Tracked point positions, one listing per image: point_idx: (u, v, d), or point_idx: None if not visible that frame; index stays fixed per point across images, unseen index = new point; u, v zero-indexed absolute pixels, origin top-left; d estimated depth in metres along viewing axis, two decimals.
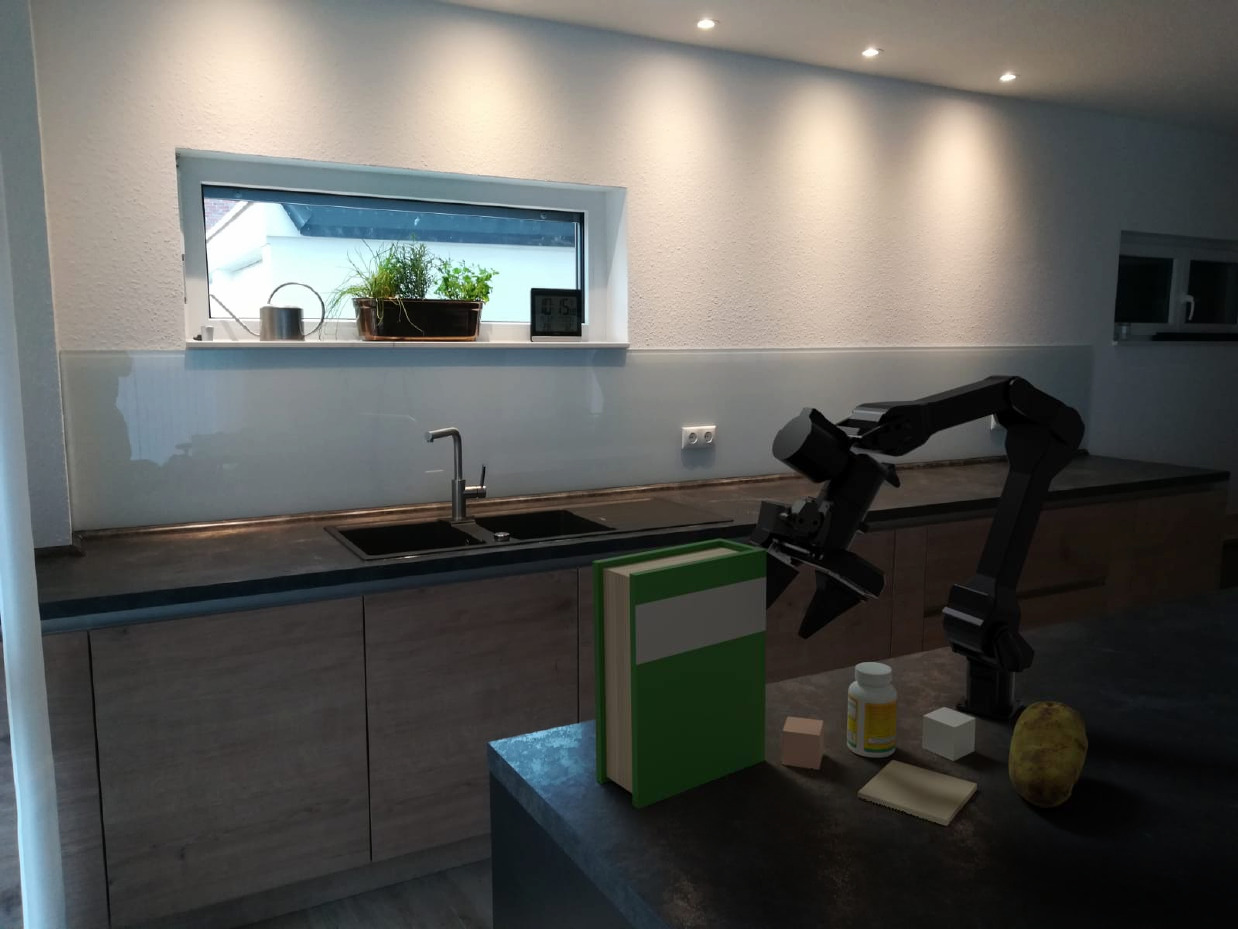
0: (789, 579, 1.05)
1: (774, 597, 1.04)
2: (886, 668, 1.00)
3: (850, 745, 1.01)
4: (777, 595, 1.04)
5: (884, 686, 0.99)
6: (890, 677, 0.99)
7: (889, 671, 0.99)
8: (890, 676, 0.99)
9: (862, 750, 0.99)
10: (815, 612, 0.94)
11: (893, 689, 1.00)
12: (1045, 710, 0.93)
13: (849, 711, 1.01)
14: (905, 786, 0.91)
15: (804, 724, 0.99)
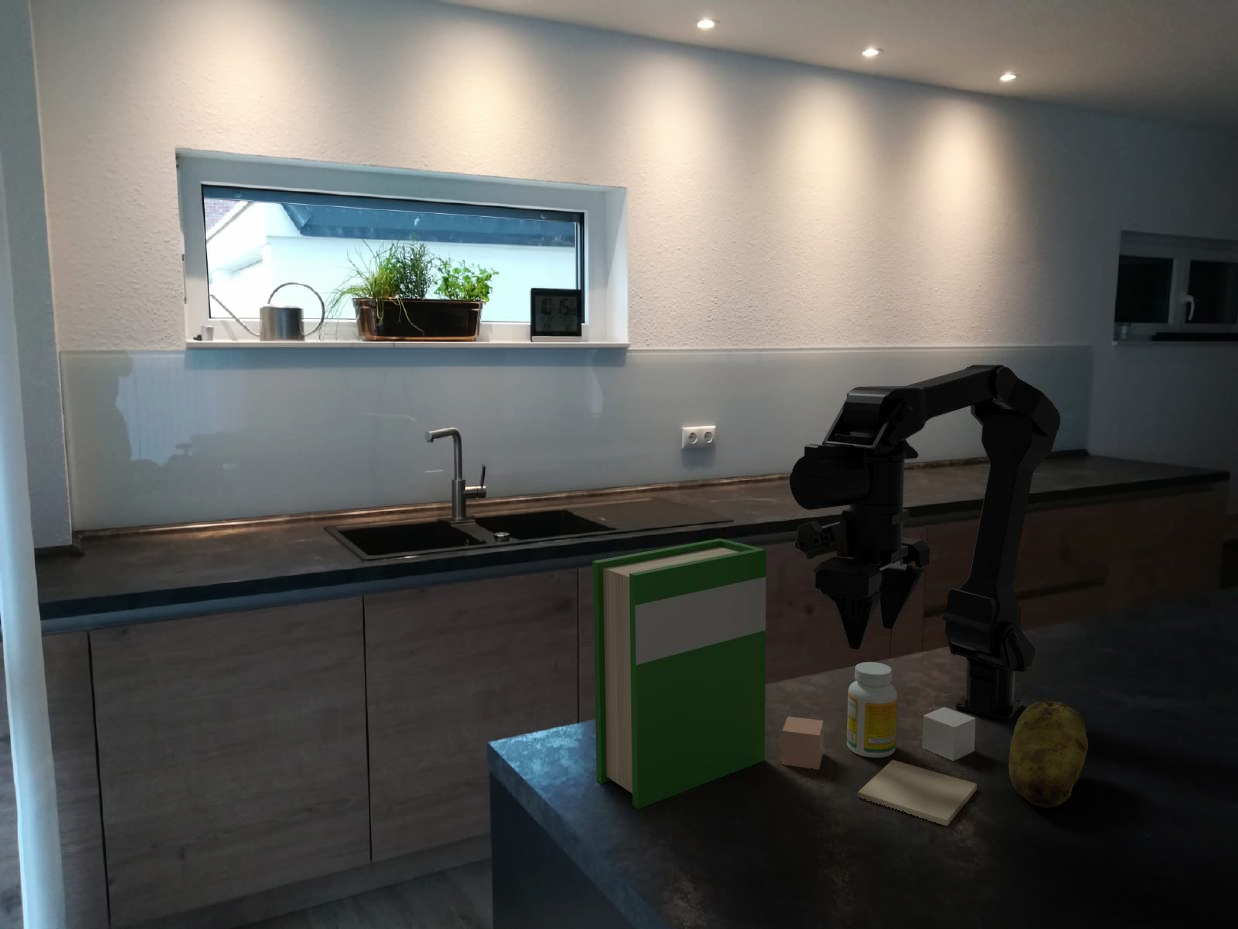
0: (908, 583, 1.02)
1: (897, 606, 1.02)
2: (886, 668, 1.00)
3: (850, 745, 1.01)
4: (900, 603, 1.02)
5: (884, 686, 0.99)
6: (890, 677, 0.99)
7: (889, 671, 0.99)
8: (890, 676, 0.99)
9: (862, 750, 0.99)
10: (845, 623, 0.96)
11: (893, 689, 1.00)
12: (1045, 710, 0.93)
13: (849, 711, 1.01)
14: (905, 786, 0.91)
15: (804, 724, 0.99)
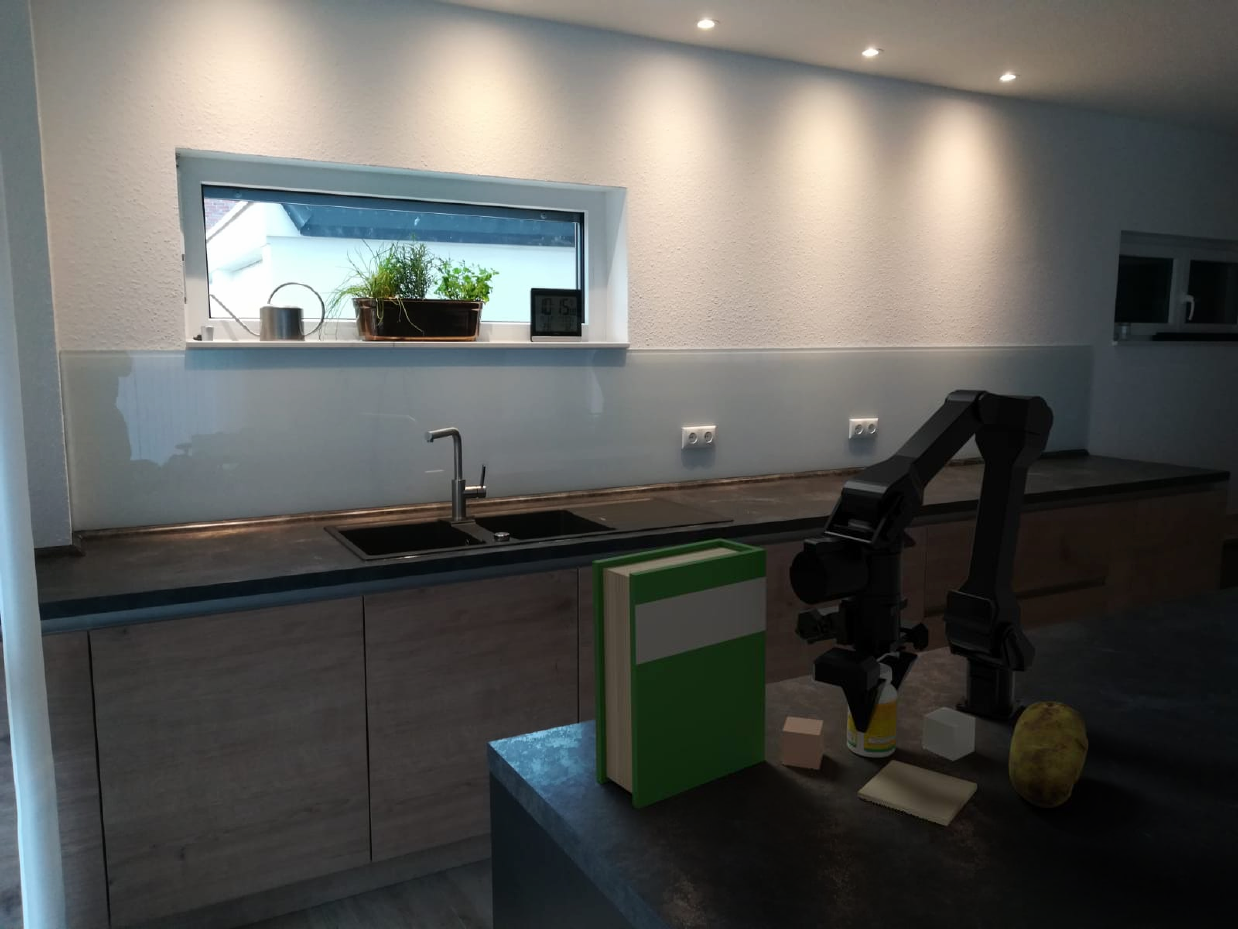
0: (901, 671, 1.02)
1: None
2: (886, 668, 1.00)
3: (850, 745, 1.01)
4: None
5: (884, 686, 0.99)
6: (890, 677, 0.99)
7: (889, 671, 0.99)
8: (890, 676, 0.99)
9: (862, 750, 0.99)
10: (851, 707, 0.98)
11: (893, 689, 1.00)
12: (1045, 710, 0.93)
13: (849, 711, 1.01)
14: (905, 786, 0.91)
15: (804, 724, 0.99)
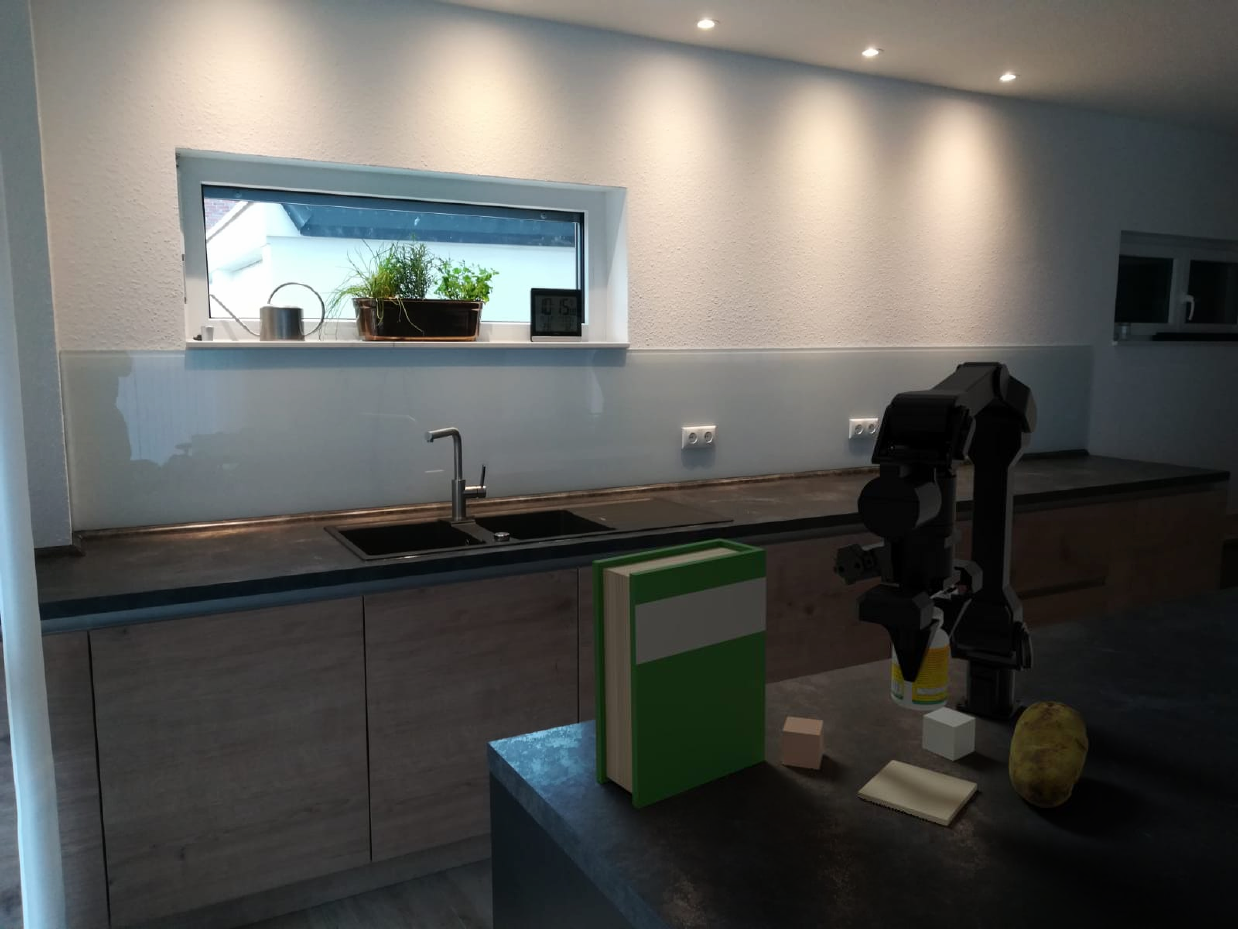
0: (953, 615, 0.90)
1: None
2: (937, 610, 0.89)
3: (895, 697, 0.89)
4: None
5: None
6: (941, 619, 0.88)
7: (940, 613, 0.88)
8: (941, 618, 0.88)
9: (910, 702, 0.88)
10: (898, 653, 0.87)
11: (945, 633, 0.88)
12: (1045, 710, 0.93)
13: (894, 659, 0.89)
14: (905, 786, 0.91)
15: (804, 724, 0.99)
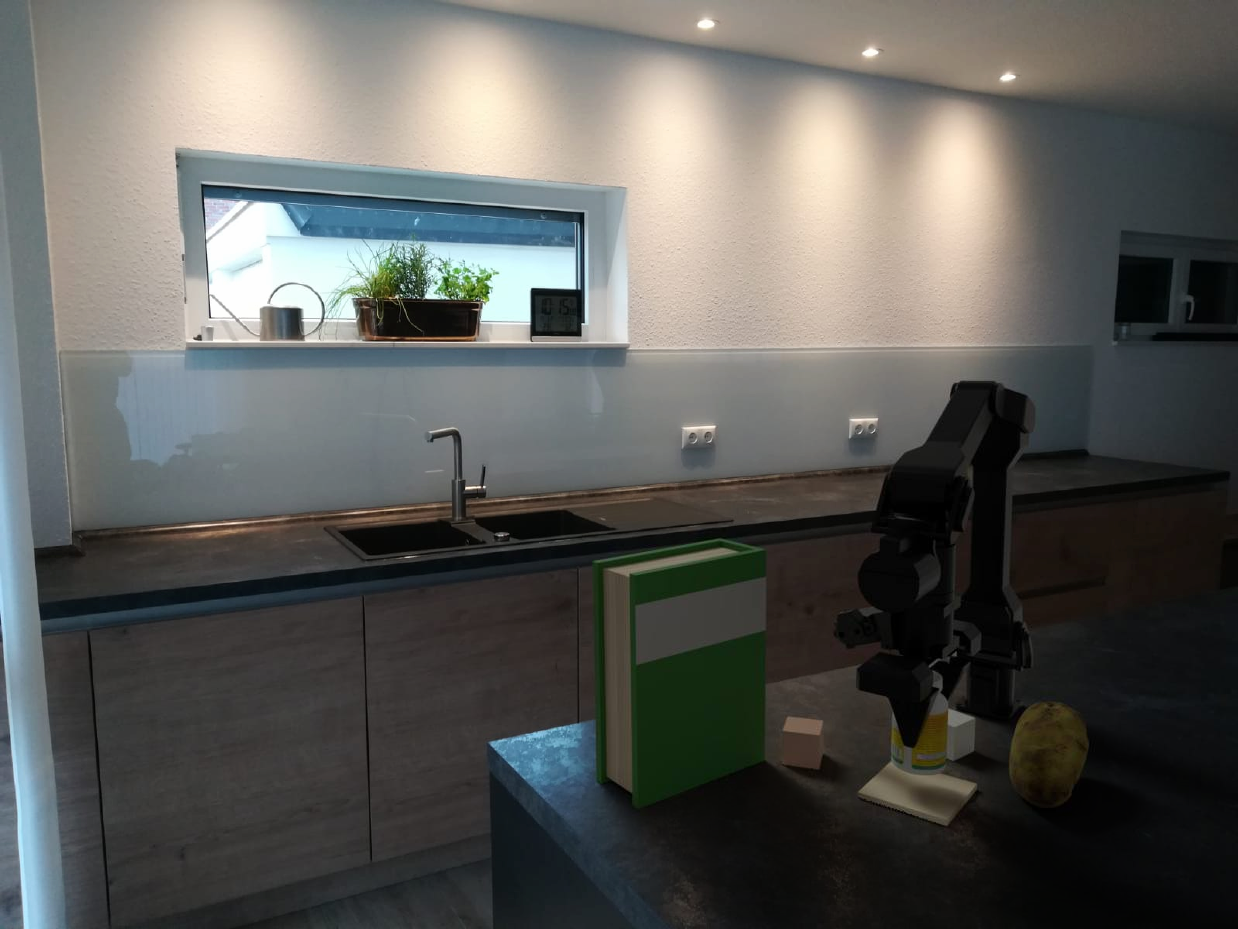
0: (952, 679, 0.91)
1: None
2: (936, 675, 0.90)
3: (895, 761, 0.90)
4: None
5: None
6: (941, 685, 0.89)
7: (940, 678, 0.89)
8: (941, 684, 0.88)
9: (909, 767, 0.89)
10: (898, 719, 0.88)
11: (944, 699, 0.89)
12: (1046, 710, 0.93)
13: (894, 723, 0.90)
14: (905, 786, 0.91)
15: (804, 724, 0.99)
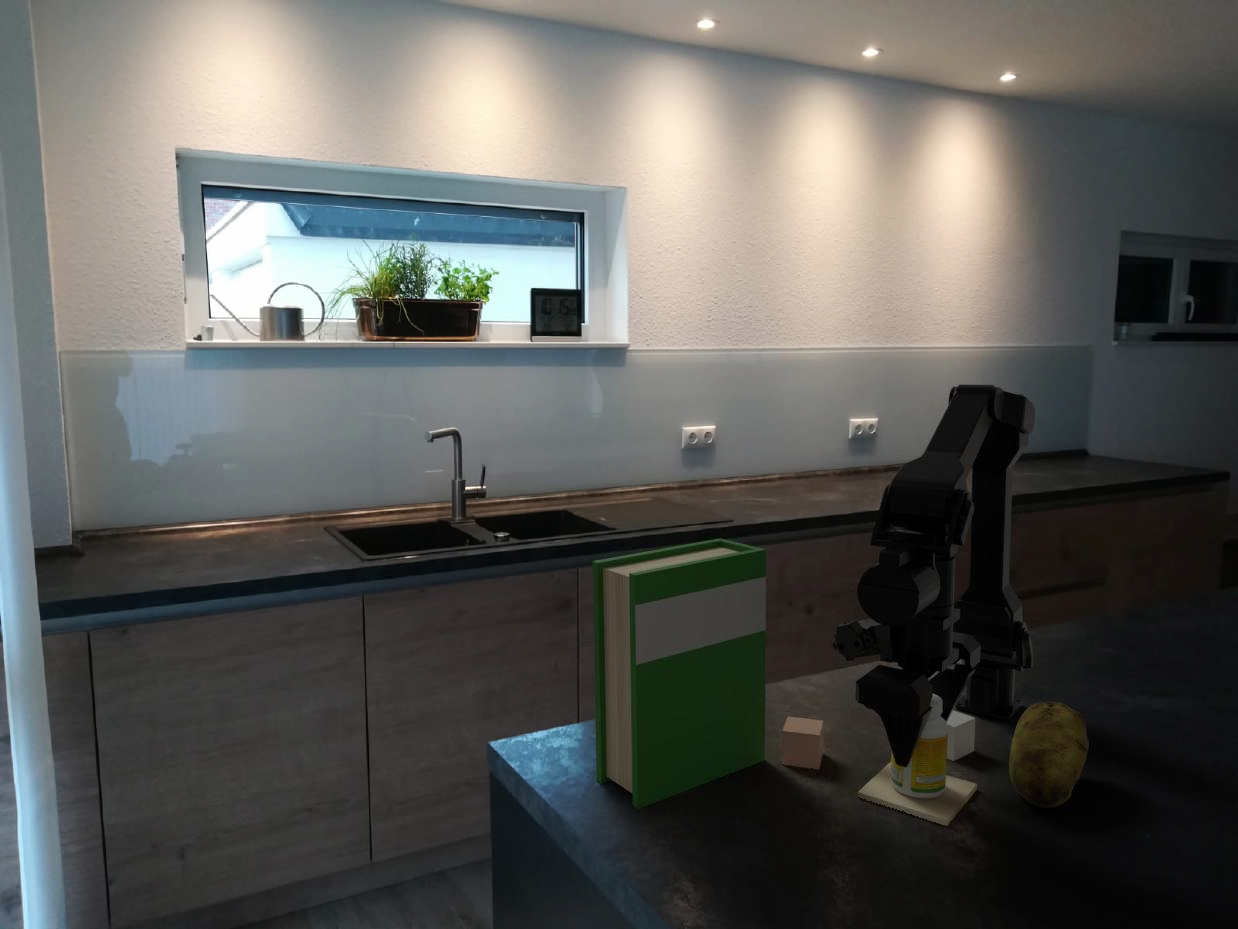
0: (957, 686, 0.92)
1: (946, 711, 0.93)
2: (936, 698, 0.90)
3: (895, 784, 0.90)
4: (949, 708, 0.93)
5: (934, 719, 0.89)
6: (941, 709, 0.89)
7: (939, 702, 0.89)
8: (941, 708, 0.89)
9: (909, 790, 0.89)
10: (890, 738, 0.86)
11: (944, 722, 0.89)
12: (1046, 710, 0.93)
13: None
14: None
15: (804, 724, 0.99)
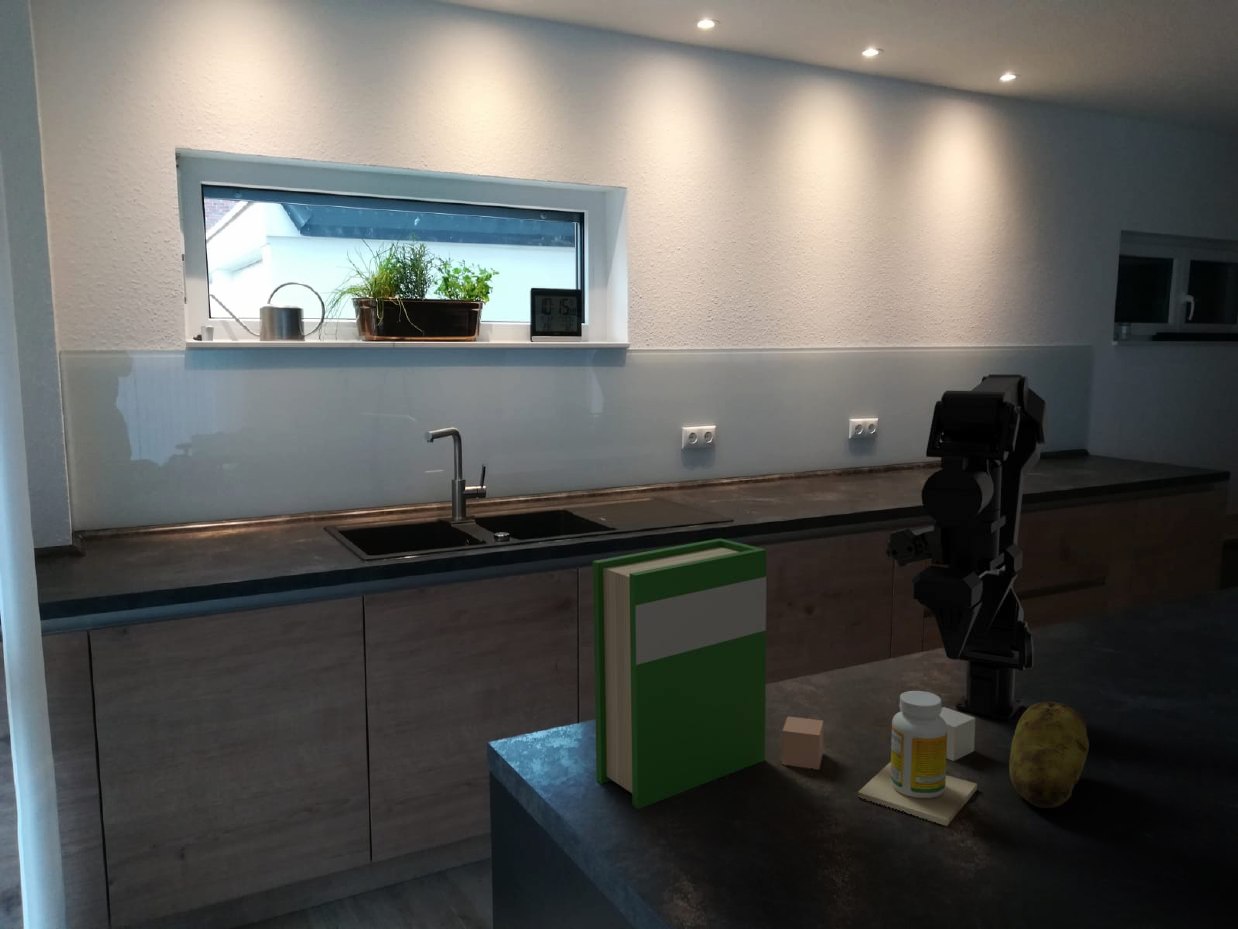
0: (1002, 589, 1.00)
1: (991, 612, 1.00)
2: (935, 698, 0.90)
3: (895, 784, 0.90)
4: (994, 609, 1.00)
5: (933, 718, 0.89)
6: (940, 708, 0.89)
7: (938, 702, 0.89)
8: (940, 707, 0.89)
9: (909, 790, 0.89)
10: (942, 633, 0.94)
11: (943, 722, 0.89)
12: (1046, 710, 0.93)
13: (893, 746, 0.90)
14: None
15: (804, 724, 0.99)
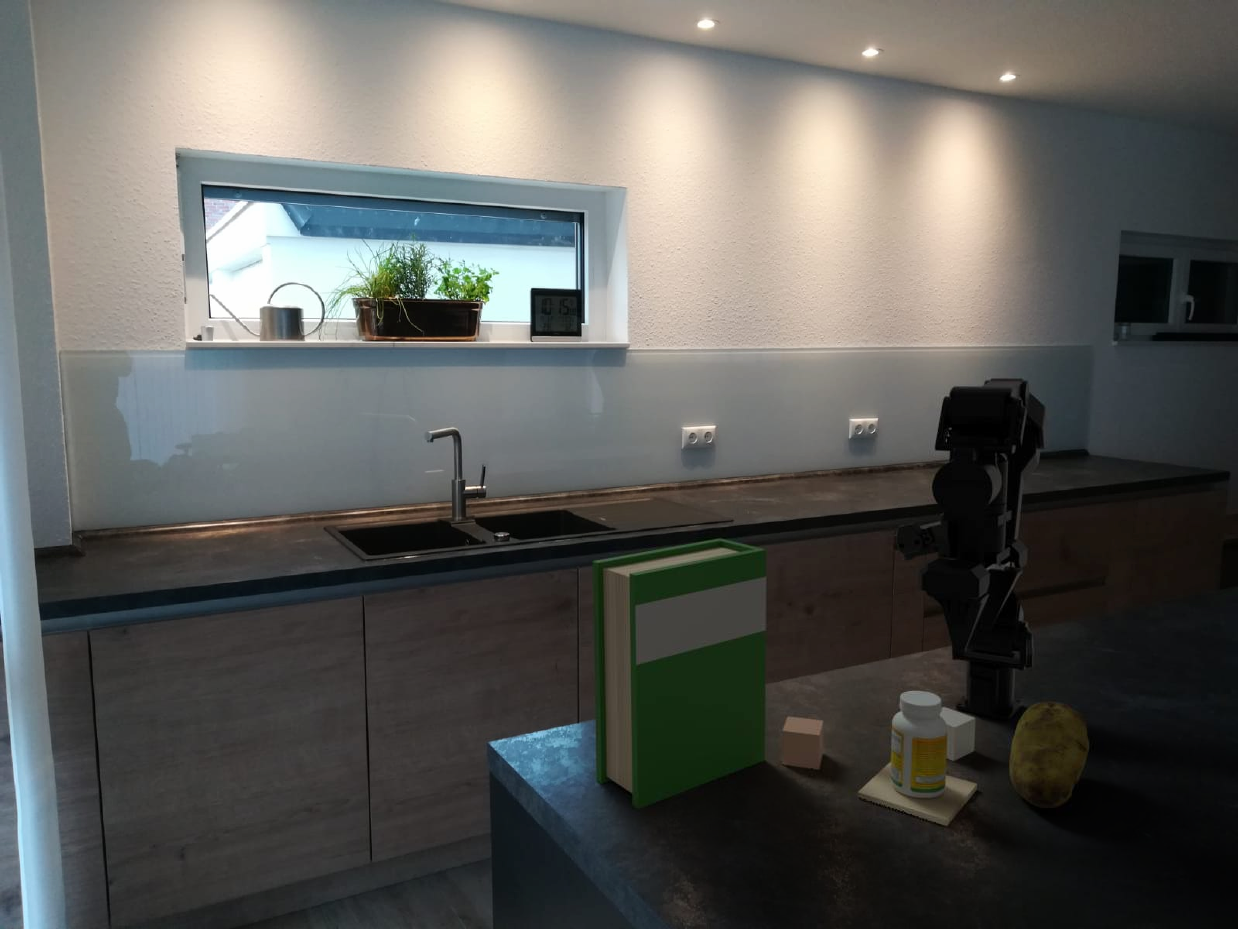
0: (1007, 584, 1.01)
1: (996, 607, 1.01)
2: (935, 698, 0.90)
3: (895, 784, 0.90)
4: (999, 604, 1.01)
5: (933, 718, 0.89)
6: (940, 708, 0.89)
7: (939, 702, 0.89)
8: (940, 707, 0.89)
9: (909, 790, 0.89)
10: (949, 625, 0.95)
11: (943, 722, 0.89)
12: (1046, 710, 0.93)
13: (893, 746, 0.90)
14: None
15: (804, 724, 0.99)
